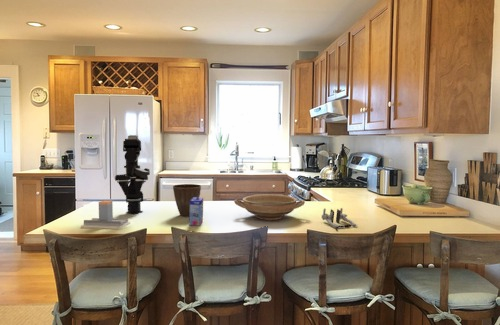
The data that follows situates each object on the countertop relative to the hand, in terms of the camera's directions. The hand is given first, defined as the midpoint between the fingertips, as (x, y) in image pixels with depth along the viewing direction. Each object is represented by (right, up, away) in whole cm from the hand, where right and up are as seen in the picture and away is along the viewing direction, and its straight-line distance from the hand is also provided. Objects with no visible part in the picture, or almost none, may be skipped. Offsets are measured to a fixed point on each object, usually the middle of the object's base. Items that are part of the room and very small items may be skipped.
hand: (132, 195), depth 181 cm
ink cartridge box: (+32, -14, -2) cm, 35 cm away
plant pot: (+24, -13, +17) cm, 32 cm away
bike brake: (+102, -15, -5) cm, 103 cm away
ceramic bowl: (+69, -13, +12) cm, 71 cm away
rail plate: (-10, -14, -6) cm, 18 cm away
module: (-10, -12, -7) cm, 17 cm away
